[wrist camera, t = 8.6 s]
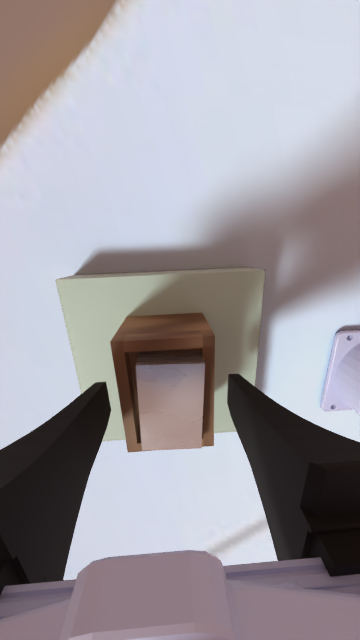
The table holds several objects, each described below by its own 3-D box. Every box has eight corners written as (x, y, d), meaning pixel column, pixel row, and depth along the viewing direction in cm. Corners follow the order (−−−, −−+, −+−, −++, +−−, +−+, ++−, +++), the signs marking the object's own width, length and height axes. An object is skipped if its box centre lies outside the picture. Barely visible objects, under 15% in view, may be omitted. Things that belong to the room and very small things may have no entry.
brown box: (202, 312, 14) (215, 335, 10) (202, 399, 16) (213, 445, 12) (126, 316, 14) (109, 341, 10) (137, 404, 16) (127, 452, 12)
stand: (250, 267, 15) (265, 270, 13) (241, 408, 20) (251, 430, 17) (73, 275, 15) (55, 279, 13) (102, 418, 19) (92, 442, 17)
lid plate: (200, 349, 11) (205, 363, 10) (197, 426, 13) (201, 448, 11) (139, 350, 11) (135, 365, 9) (145, 427, 13) (141, 450, 11)
